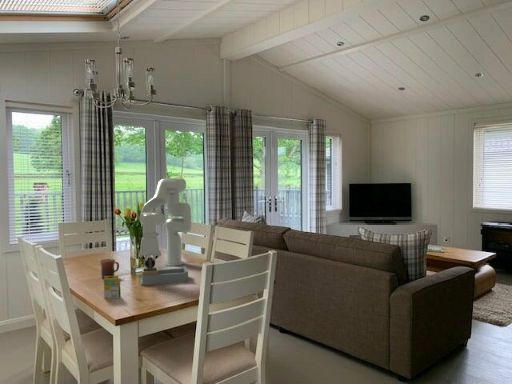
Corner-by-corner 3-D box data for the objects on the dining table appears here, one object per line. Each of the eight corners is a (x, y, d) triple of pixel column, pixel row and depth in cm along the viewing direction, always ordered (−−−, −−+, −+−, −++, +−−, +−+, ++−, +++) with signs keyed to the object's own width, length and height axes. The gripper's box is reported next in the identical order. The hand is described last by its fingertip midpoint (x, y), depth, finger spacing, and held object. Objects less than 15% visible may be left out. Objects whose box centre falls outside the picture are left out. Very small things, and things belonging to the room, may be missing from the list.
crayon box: (120, 296, 202) (120, 274, 201) (118, 298, 199) (118, 275, 198) (106, 297, 202) (105, 274, 201) (104, 298, 199) (103, 276, 198)
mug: (97, 278, 237) (96, 261, 236) (106, 274, 245) (105, 258, 245) (114, 279, 234) (114, 262, 233) (123, 276, 242) (122, 259, 241)
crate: (142, 277, 232) (141, 256, 232) (158, 276, 235) (157, 255, 234) (142, 281, 224) (141, 259, 223) (158, 280, 226) (158, 258, 226)
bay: (141, 279, 234) (141, 269, 234) (185, 276, 242) (185, 266, 241) (141, 285, 222) (141, 274, 222) (188, 281, 229) (188, 271, 229)
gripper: (163, 233, 234) (164, 264, 235) (134, 235, 229) (135, 266, 230) (164, 235, 227) (165, 267, 228) (134, 237, 222) (135, 269, 223)
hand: (150, 266), depth 229 cm, fingers closed on crate, 2 cm apart
